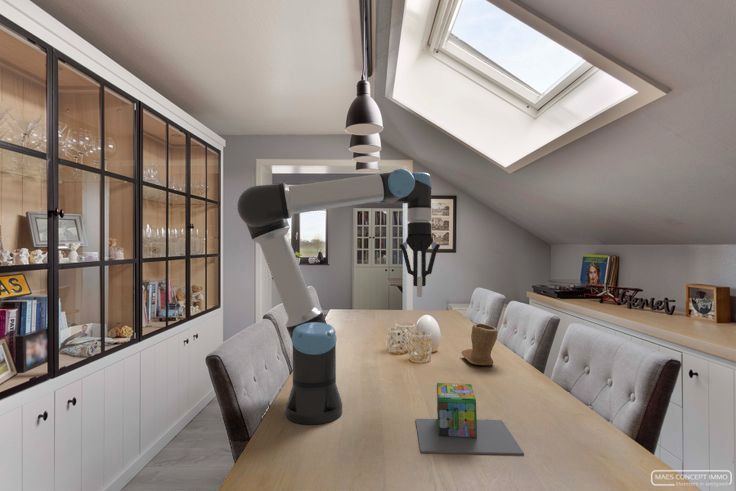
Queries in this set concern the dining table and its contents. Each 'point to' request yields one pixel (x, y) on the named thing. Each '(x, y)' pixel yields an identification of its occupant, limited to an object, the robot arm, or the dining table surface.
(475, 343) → the tan boot
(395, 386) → the dining table surface
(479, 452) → the mat
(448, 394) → the chalk box
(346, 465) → the dining table surface
